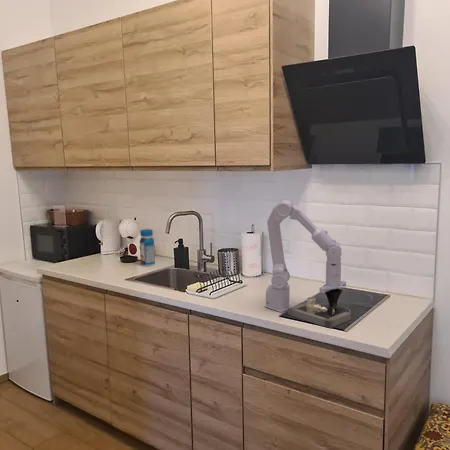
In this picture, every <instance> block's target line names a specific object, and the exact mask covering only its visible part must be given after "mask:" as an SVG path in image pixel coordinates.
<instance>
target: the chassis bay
mask: <svg viewBox="0 0 450 450" xmlns="http://www.w3.org/2000/svg"><path fill="white" fill-rule="evenodd" d="M306 303H307V301H306V302H302V303H300V304H296V305H294V306H293V307H290V308H288V310H287V315H288V316H291V317H294V318H297V319H300V320H303V321H305V322H306V321H307V322H309V323H313V324H316V325H318V326H322V327H324V328H328V329H333V328H334V327H336V326H339V325H341V324H344V323H347V322H349V321H350V320H351V319H352V313H350V312H348V311H344V312H340V313H337V315H336V316H333V315H332V316H333V317H330V316H329V317H330V318H329V317H324V316H321V315H318V314H315V315H314V314H311V313H308V312H307V310H306Z"/></svg>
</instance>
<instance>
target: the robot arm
mask: <svg viewBox="0 0 450 450" xmlns="http://www.w3.org/2000/svg"><path fill="white" fill-rule="evenodd" d="M289 216H290V217H289ZM286 218H289V219H290V220H294V221H297V222H298V223H300V225H302V226H303V227H304V228H305V229H306V230H307V231H308V232H309V233H310V234H311V240H313V242H314V243H315V244H316V245H317V246H318V247H319V248H320V250H322V251H324V252H325V255H326V262H325V263H326V265H325V284H324V285H322V286H320V287H319V294H320V293H321V294H325V296H326V298H327V301H328V306H329V307H330V306H331V307H332V306H333V305H332V303H335V304H337V305H338V301H339V298H340V296H341V295H342V293H343V288H346V287H347V281H345V280H342V262H341V261H342V258H341V257H342V247H341V245H340V243H339V242H337V240H336V239H333V238H332V237H331V236H330V235H329V234H328V233H329V231H328V230H327V229H323V228H320V227H317V226H316V224H314V223H313V221H311V219H310V218H309V217H308V216H307V215H306V213H305V212H304V211H303V210H302V209H301V208H300V207H299V206H298V205H296V204H294V203H293V201H292V200H290V199H283V200H280V202H278V203H277V204H276V205H275V206H274V207H273V208H272V211H271V213H270V214H269V217H268V219H267V220H266V221H267V222H266V225H267V231H268V232H267V234H268V238H269V246H270V254H271V261H272V276H271V280H270V281H271V284H269V285H268V286H267V288H266V291H265V305H264V307H265V308H266V309H270V310H272V311H277V312H278V313H283V312H286V311H287V312H288V308H290V307H293V306H292V305H290V296H291V295H290V293H291V292H290V290H291V288H290V286H291V285H290V284H289V283H288V282H289V280H290V278H291V275H290V272H289V271H288V268H287V264H286V261H285V255H284V248H283V247H284V246H283V240H282V232H281V223H282V222H283V221H284V220H286Z"/></svg>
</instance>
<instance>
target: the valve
mask: <svg viewBox="0 0 450 450" xmlns="http://www.w3.org/2000/svg"><path fill="white" fill-rule="evenodd" d="M316 300H317V299H316V297H313V296H308V297H306V302H307V303H306V310H307V311H306V312H308V313H311V314H314V315H316V313H320V312H323V313H327V315H329V316H328V318H330V317H333V316H336V315H338V313H337V312H339V308H338V303H337V304H335V303H332V305H333V306H332V307H331V306H329V307H325V306H322V305H321V304H319V303H316V302H317V301H316Z"/></svg>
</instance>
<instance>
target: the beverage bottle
mask: <svg viewBox="0 0 450 450" xmlns="http://www.w3.org/2000/svg"><path fill="white" fill-rule="evenodd" d="M153 231H154V230H152V229H149V228H145V229H141V230H140V239H139V258H140V266H143V267H151V266H154V265H155V264H156V261H155V260H156V259H155V256H156V255H155V240H154V238H153Z"/></svg>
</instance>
